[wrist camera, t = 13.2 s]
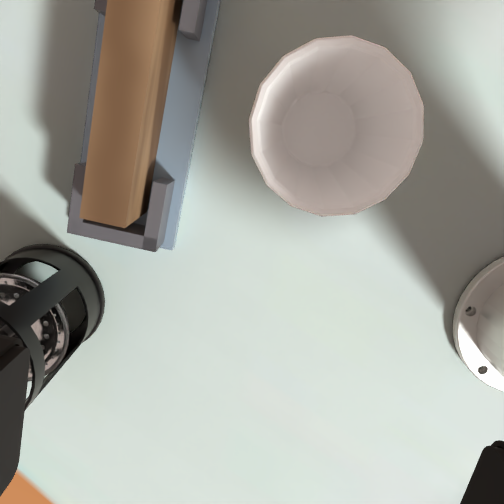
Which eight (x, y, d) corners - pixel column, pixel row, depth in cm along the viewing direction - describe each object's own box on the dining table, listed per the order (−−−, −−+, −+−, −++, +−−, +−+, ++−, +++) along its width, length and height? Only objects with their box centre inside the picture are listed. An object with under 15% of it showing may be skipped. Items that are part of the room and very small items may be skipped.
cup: (338, 218, 37) (362, 247, 28) (228, 155, 36) (216, 164, 27) (410, 103, 34) (462, 94, 25) (294, 32, 33) (306, -4, 24)
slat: (184, -12, 32) (167, -44, 26) (147, 212, 36) (124, 228, 30) (141, -23, 32) (114, -57, 26) (108, 203, 36) (79, 218, 30)
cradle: (227, -37, 32) (222, -60, 28) (174, 247, 38) (164, 260, 34) (114, -65, 32) (93, -92, 28) (77, 225, 37) (55, 236, 33)
